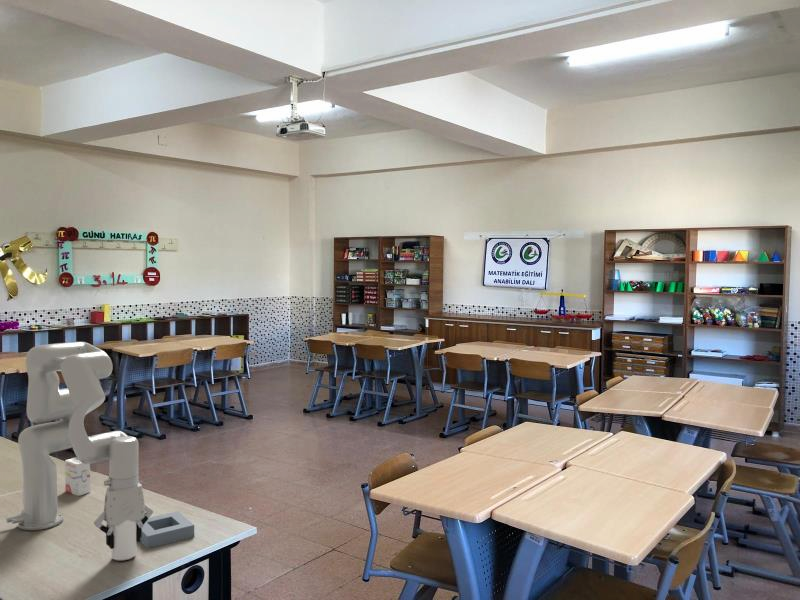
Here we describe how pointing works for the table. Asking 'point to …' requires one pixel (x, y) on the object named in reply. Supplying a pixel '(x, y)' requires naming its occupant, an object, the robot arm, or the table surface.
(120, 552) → the can
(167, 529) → the socket block
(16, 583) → the table surface
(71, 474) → the ink cartridge box
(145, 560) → the table surface
